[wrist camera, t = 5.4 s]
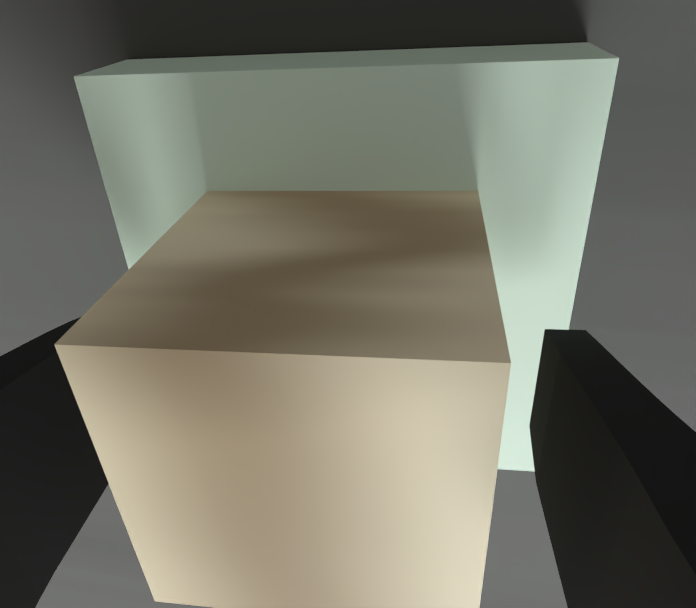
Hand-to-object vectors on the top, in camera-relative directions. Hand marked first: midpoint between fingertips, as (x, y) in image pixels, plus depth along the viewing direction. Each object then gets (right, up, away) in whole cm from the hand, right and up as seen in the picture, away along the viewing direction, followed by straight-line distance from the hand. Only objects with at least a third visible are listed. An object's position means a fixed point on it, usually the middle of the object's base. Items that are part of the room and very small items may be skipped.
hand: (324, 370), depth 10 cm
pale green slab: (+1, +2, +4) cm, 4 cm away
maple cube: (0, +1, +2) cm, 2 cm away
